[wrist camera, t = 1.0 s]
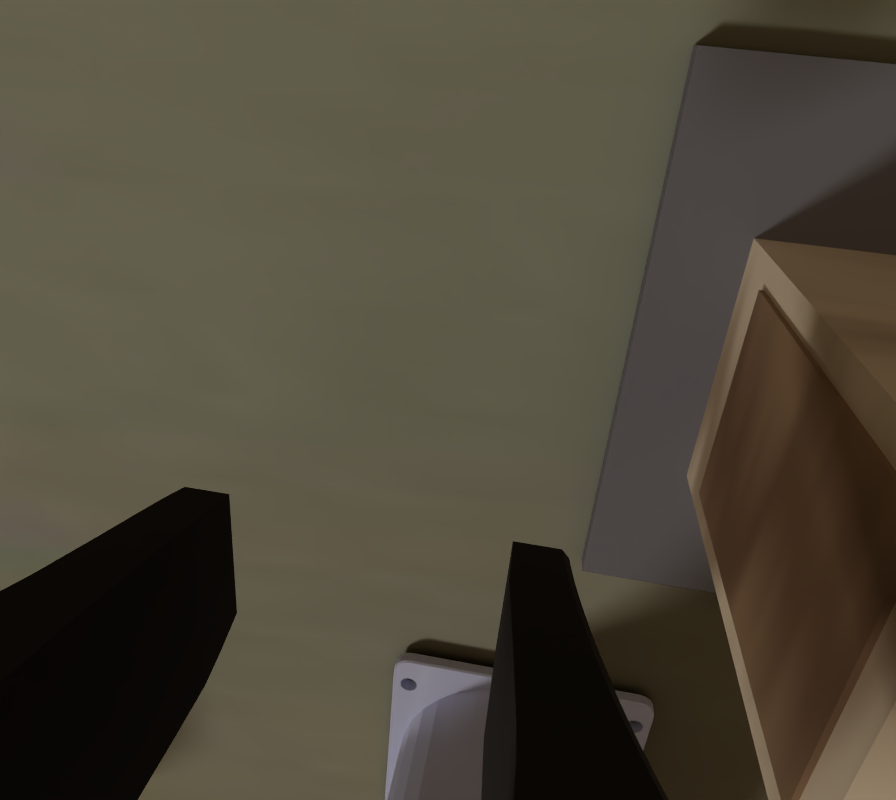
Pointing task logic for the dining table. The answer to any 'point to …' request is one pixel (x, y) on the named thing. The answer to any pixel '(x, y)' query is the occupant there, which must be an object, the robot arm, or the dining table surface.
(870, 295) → the birch block
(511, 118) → the dining table surface
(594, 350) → the dining table surface
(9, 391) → the dining table surface
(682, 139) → the rubber mat
